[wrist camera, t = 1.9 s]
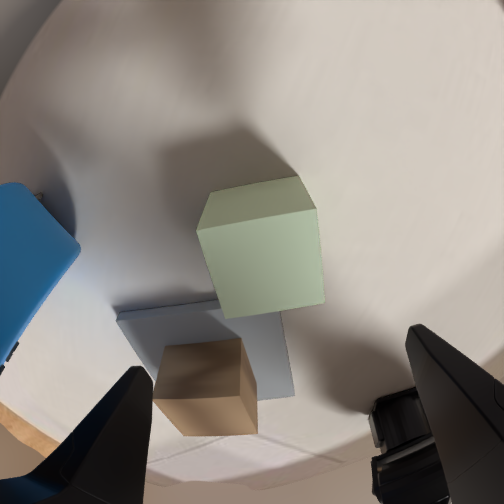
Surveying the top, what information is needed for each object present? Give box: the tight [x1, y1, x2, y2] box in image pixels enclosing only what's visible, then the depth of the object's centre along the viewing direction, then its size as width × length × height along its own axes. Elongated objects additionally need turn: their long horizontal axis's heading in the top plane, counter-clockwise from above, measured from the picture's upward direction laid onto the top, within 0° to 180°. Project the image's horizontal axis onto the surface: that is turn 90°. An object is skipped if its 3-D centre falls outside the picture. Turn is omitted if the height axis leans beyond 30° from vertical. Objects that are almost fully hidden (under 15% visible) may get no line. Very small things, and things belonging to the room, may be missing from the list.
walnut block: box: [153, 338, 258, 436], centre depth 20 cm, size 6×6×5 cm
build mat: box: [116, 300, 295, 401], centre depth 23 cm, size 12×12×1 cm
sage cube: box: [196, 176, 325, 319], centre depth 15 cm, size 5×5×5 cm
